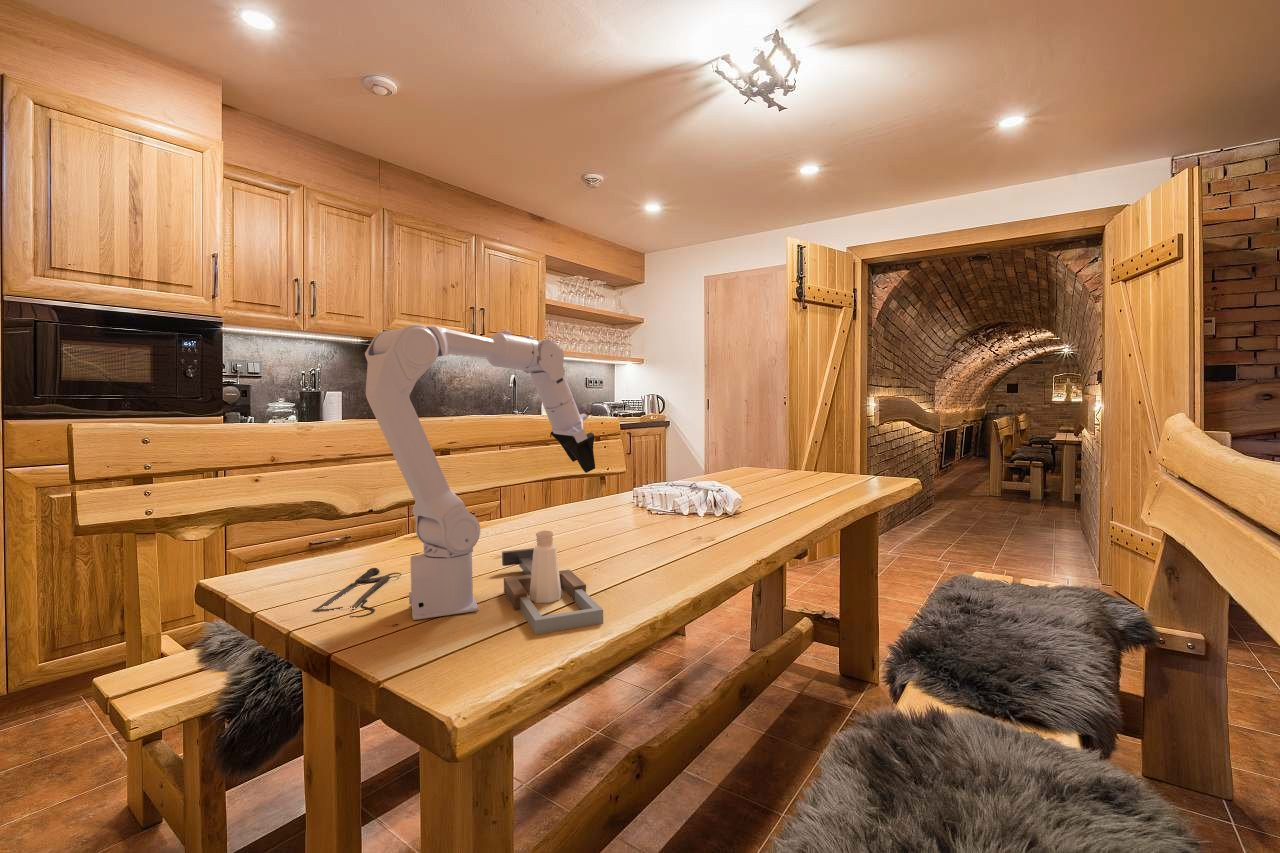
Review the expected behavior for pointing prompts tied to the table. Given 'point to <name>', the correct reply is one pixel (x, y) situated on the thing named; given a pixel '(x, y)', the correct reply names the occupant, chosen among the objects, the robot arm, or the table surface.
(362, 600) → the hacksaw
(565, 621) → the grey u-shaped frame
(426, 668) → the table surface
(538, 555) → the pepper shaker
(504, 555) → the release key
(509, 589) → the holder
